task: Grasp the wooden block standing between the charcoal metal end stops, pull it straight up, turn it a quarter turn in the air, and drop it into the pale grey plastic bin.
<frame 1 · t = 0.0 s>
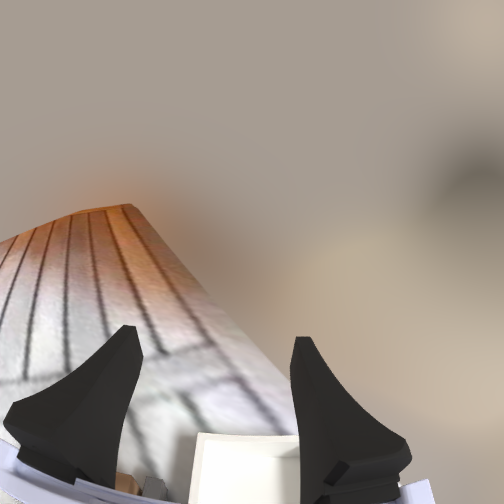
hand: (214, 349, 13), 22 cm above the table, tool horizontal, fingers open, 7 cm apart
wooden block: (95, 496, 19), on the table
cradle: (95, 496, 19), on the table
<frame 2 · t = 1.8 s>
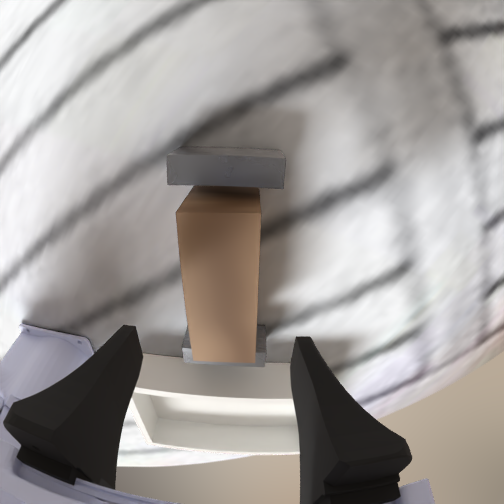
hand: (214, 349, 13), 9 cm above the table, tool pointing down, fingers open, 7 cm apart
bin: (227, 397, 28), on the table
wooden block: (227, 256, 21), on the table
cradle: (227, 258, 20), on the table
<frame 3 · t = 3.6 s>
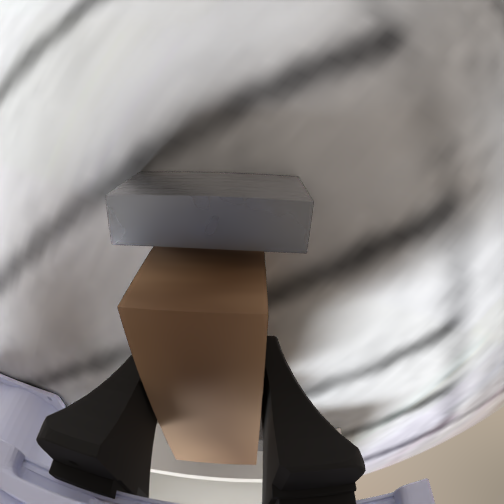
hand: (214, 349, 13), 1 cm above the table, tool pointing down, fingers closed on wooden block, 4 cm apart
bin: (223, 458, 21), on the table
wooden block: (217, 328, 14), on the table, touching gripper
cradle: (217, 328, 14), on the table
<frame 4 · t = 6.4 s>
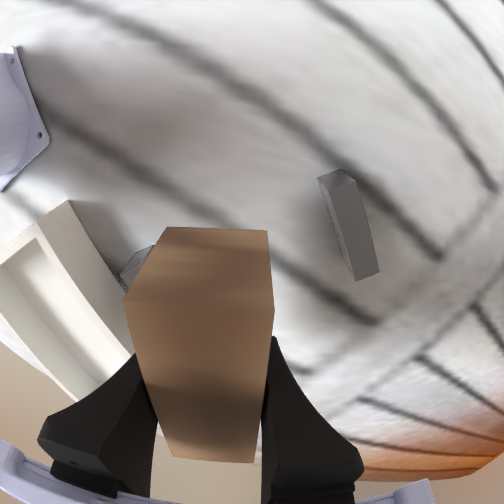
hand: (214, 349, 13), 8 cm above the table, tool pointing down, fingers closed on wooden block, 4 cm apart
bin: (81, 314, 23), on the table
wooden block: (217, 325, 14), point 7 cm above the table, touching gripper
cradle: (248, 251, 20), on the table
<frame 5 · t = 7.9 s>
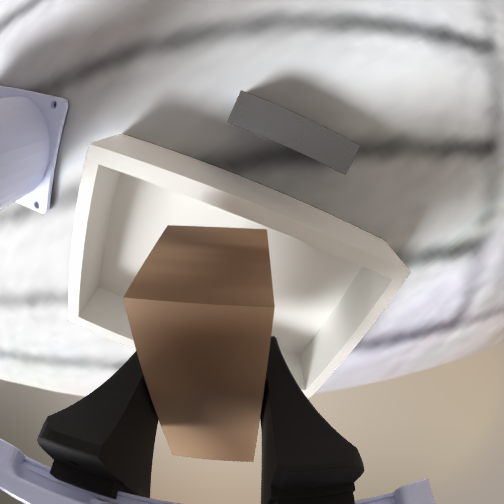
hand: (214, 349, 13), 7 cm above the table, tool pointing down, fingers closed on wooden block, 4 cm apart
bin: (225, 266, 19), on the table
wooden block: (217, 323, 14), point 6 cm above the table, touching gripper
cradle: (335, 29, 13), on the table
when the fingers open (4 cm above the table, at t = 9.2 s): wooden block stays where it is, resting on bin.
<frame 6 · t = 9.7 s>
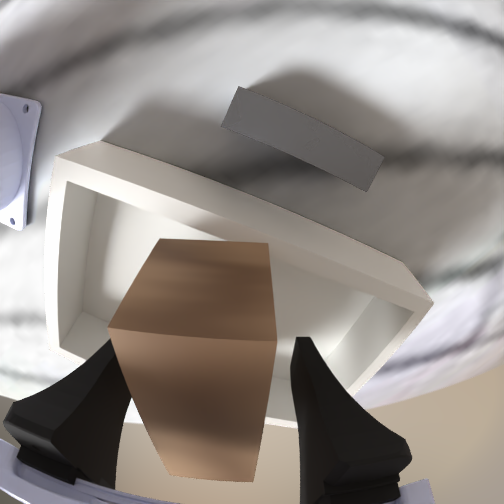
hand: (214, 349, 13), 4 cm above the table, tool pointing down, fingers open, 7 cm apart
bin: (222, 293, 17), on the table
wooden block: (214, 341, 13), point 4 cm above the table, touching bin
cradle: (351, 17, 10), on the table
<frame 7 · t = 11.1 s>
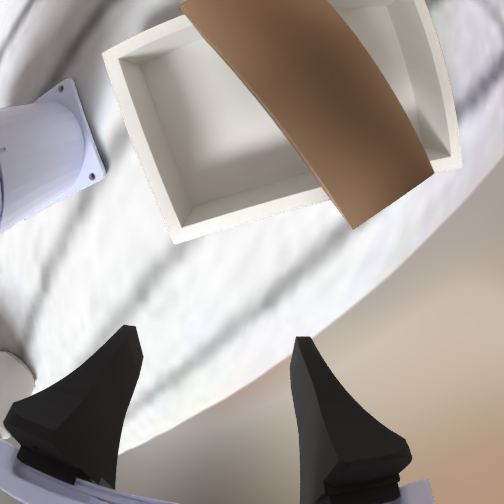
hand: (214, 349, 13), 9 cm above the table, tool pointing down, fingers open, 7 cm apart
bin: (291, 94, 16), on the table
wooden block: (299, 89, 13), point 4 cm above the table, touching bin
can: (17, 365, 30), on the table
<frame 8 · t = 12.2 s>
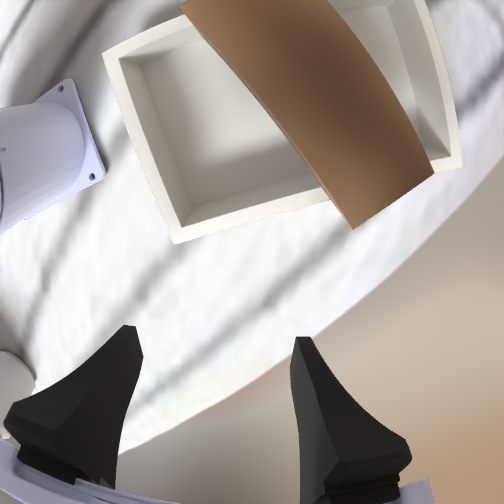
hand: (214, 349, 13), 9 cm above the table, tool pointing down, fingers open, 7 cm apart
bin: (291, 94, 16), on the table
wooden block: (299, 89, 13), point 4 cm above the table, touching bin
can: (17, 365, 30), on the table
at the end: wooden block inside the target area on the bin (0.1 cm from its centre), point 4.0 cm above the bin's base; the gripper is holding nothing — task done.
